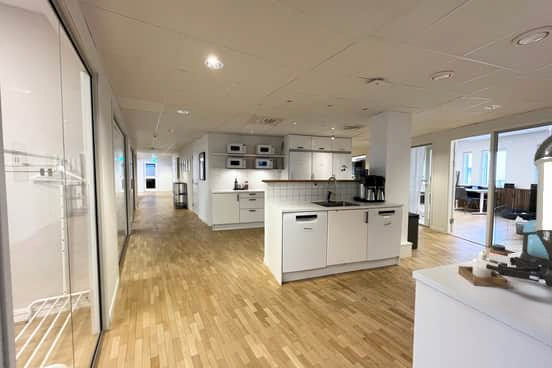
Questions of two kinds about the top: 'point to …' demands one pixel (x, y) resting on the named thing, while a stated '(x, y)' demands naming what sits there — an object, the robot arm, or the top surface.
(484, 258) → the eye dropper bottle
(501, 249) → the supplement bottle
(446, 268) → the top surface
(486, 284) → the holder
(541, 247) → the robot arm
